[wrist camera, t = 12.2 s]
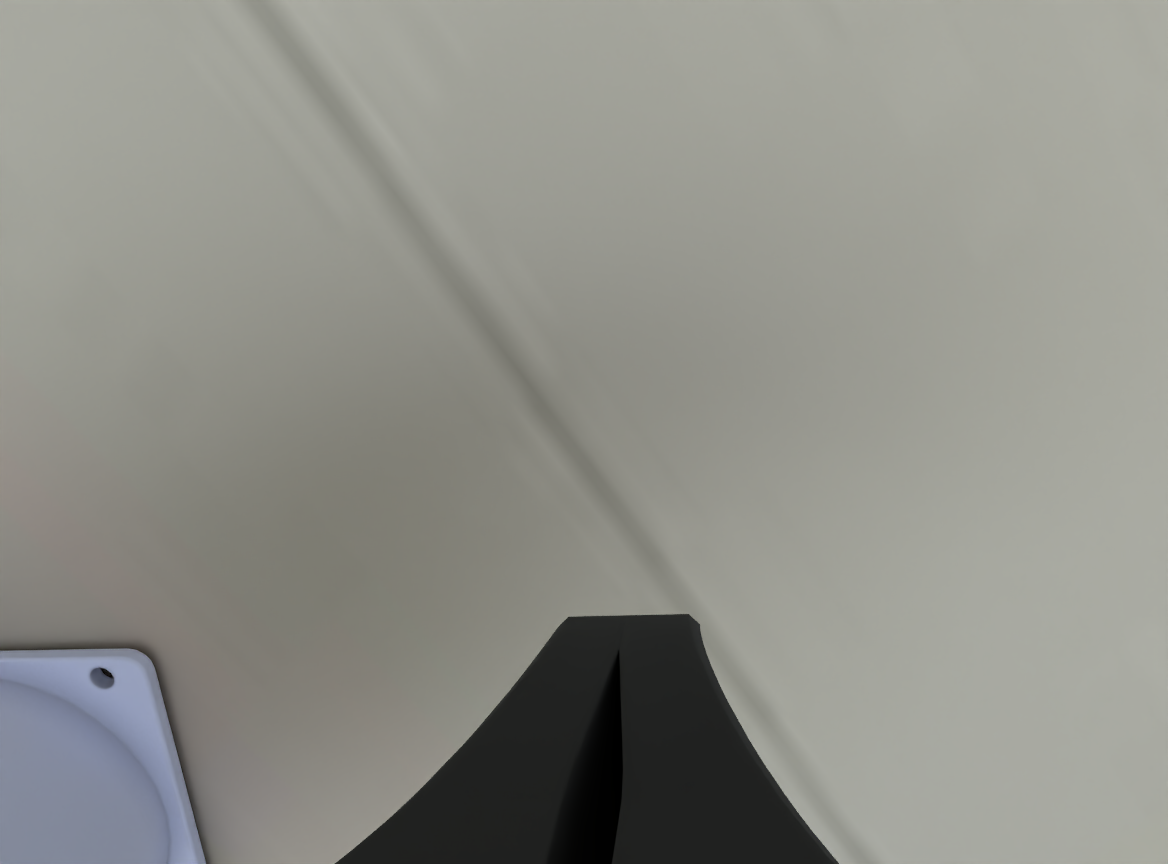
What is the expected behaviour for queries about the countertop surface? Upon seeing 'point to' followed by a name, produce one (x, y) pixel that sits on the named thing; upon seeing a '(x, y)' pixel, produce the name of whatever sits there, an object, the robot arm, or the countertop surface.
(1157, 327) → the countertop surface
